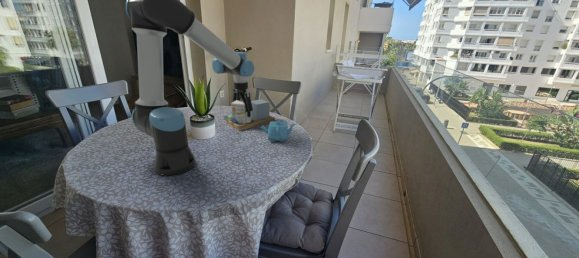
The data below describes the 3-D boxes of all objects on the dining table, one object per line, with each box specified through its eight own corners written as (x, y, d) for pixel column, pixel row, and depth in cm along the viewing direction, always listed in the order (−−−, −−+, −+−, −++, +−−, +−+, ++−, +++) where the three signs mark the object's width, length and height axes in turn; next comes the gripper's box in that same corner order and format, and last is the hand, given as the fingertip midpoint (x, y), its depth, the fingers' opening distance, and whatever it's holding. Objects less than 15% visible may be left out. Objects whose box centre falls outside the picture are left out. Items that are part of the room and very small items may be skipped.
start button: (236, 120, 148) (235, 115, 147) (230, 121, 146) (229, 117, 145) (232, 118, 151) (232, 114, 150) (227, 119, 148) (226, 115, 147)
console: (239, 121, 148) (239, 117, 147) (229, 124, 144) (229, 119, 143) (233, 118, 153) (233, 114, 152) (223, 121, 149) (223, 116, 148)
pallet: (274, 123, 148) (274, 117, 147) (239, 132, 132) (239, 126, 131) (261, 117, 158) (261, 112, 156) (227, 125, 142) (226, 119, 141)
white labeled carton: (231, 122, 137) (230, 102, 133) (239, 117, 145) (238, 98, 140) (245, 124, 135) (244, 104, 130) (252, 119, 142) (251, 100, 138)
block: (269, 120, 148) (269, 102, 144) (257, 124, 143) (256, 104, 138) (261, 117, 154) (261, 99, 150) (249, 120, 148) (249, 101, 144)
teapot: (259, 144, 119) (258, 125, 116) (262, 133, 132) (262, 116, 129) (295, 145, 119) (296, 126, 115) (295, 134, 132) (296, 117, 128)
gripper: (258, 84, 126) (259, 123, 134) (236, 77, 142) (238, 113, 150) (246, 86, 121) (248, 126, 130) (224, 79, 137) (227, 115, 146)
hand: (242, 119), depth 140 cm, fingers closed on white labeled carton, 11 cm apart
